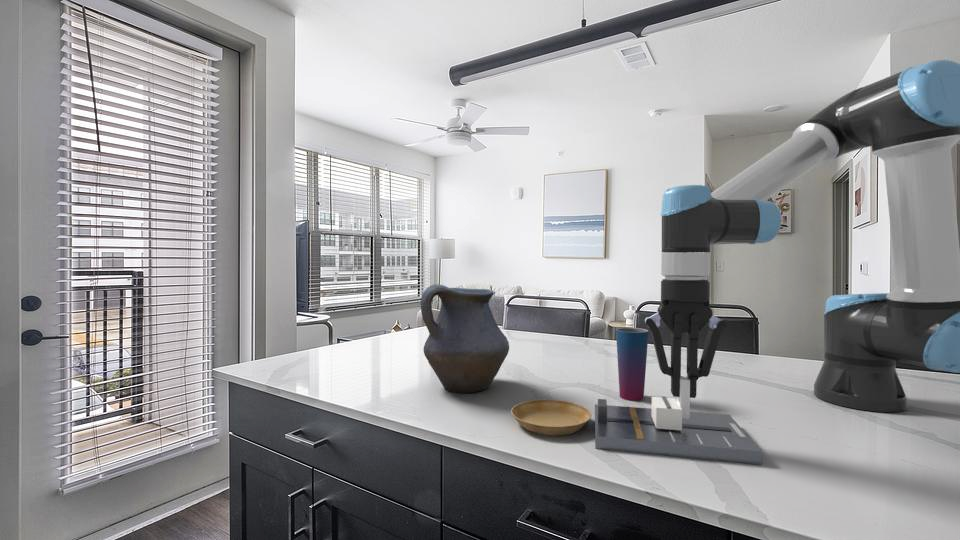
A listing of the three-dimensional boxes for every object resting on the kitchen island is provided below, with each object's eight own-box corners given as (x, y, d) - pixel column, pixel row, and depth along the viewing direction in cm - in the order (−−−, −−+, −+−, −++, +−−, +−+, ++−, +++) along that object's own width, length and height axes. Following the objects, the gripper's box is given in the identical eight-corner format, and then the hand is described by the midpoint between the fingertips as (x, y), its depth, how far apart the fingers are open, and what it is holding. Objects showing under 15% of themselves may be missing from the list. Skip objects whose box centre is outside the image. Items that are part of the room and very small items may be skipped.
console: (729, 425, 81) (729, 398, 81) (761, 464, 66) (762, 431, 66) (594, 414, 87) (594, 389, 87) (595, 448, 72) (595, 417, 72)
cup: (650, 403, 94) (651, 332, 94) (617, 401, 95) (617, 331, 95) (645, 393, 101) (645, 327, 100) (614, 391, 102) (614, 327, 102)
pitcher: (527, 390, 103) (527, 283, 102) (446, 408, 91) (445, 287, 90) (477, 372, 120) (477, 280, 119) (404, 385, 108) (403, 282, 107)
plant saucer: (495, 422, 84) (495, 409, 84) (549, 406, 93) (549, 394, 93) (552, 449, 72) (552, 433, 72) (608, 427, 81) (608, 413, 81)
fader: (675, 417, 79) (675, 397, 79) (681, 430, 73) (682, 408, 73) (651, 415, 80) (651, 395, 80) (656, 428, 74) (656, 406, 74)
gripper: (720, 277, 77) (718, 411, 78) (641, 276, 80) (640, 405, 81) (734, 279, 70) (732, 427, 71) (647, 278, 73) (645, 420, 74)
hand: (683, 415), depth 76 cm, fingers closed
